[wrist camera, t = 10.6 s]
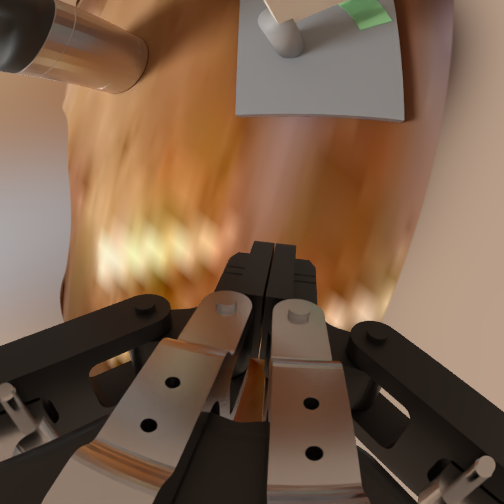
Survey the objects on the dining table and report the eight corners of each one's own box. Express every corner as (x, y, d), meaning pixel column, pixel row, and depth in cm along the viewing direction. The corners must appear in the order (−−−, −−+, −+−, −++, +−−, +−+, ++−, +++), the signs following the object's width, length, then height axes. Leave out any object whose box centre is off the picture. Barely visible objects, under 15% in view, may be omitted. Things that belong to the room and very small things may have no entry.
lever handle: (283, 63, 30) (250, 14, 19) (270, 41, 30) (233, -10, 19) (391, 17, 25) (401, -43, 14) (375, -3, 25) (377, -66, 14)
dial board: (240, 117, 34) (234, 114, 33) (244, -9, 30) (240, -15, 29) (402, 122, 29) (404, 119, 28) (389, -12, 25) (390, -19, 24)
